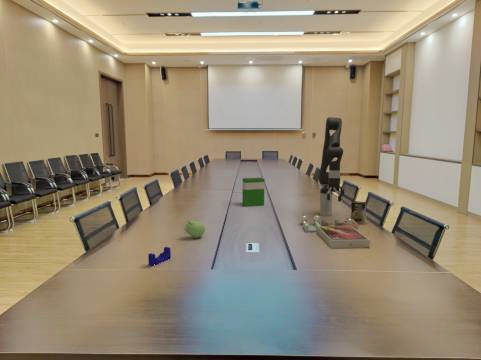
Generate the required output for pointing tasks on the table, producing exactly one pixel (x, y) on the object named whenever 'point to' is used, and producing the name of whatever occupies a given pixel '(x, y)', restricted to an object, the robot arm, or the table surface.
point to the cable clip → (159, 257)
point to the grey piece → (325, 223)
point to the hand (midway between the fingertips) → (334, 200)
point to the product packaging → (342, 237)
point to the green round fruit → (195, 229)
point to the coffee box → (358, 212)
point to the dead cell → (349, 220)
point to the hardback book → (253, 192)
